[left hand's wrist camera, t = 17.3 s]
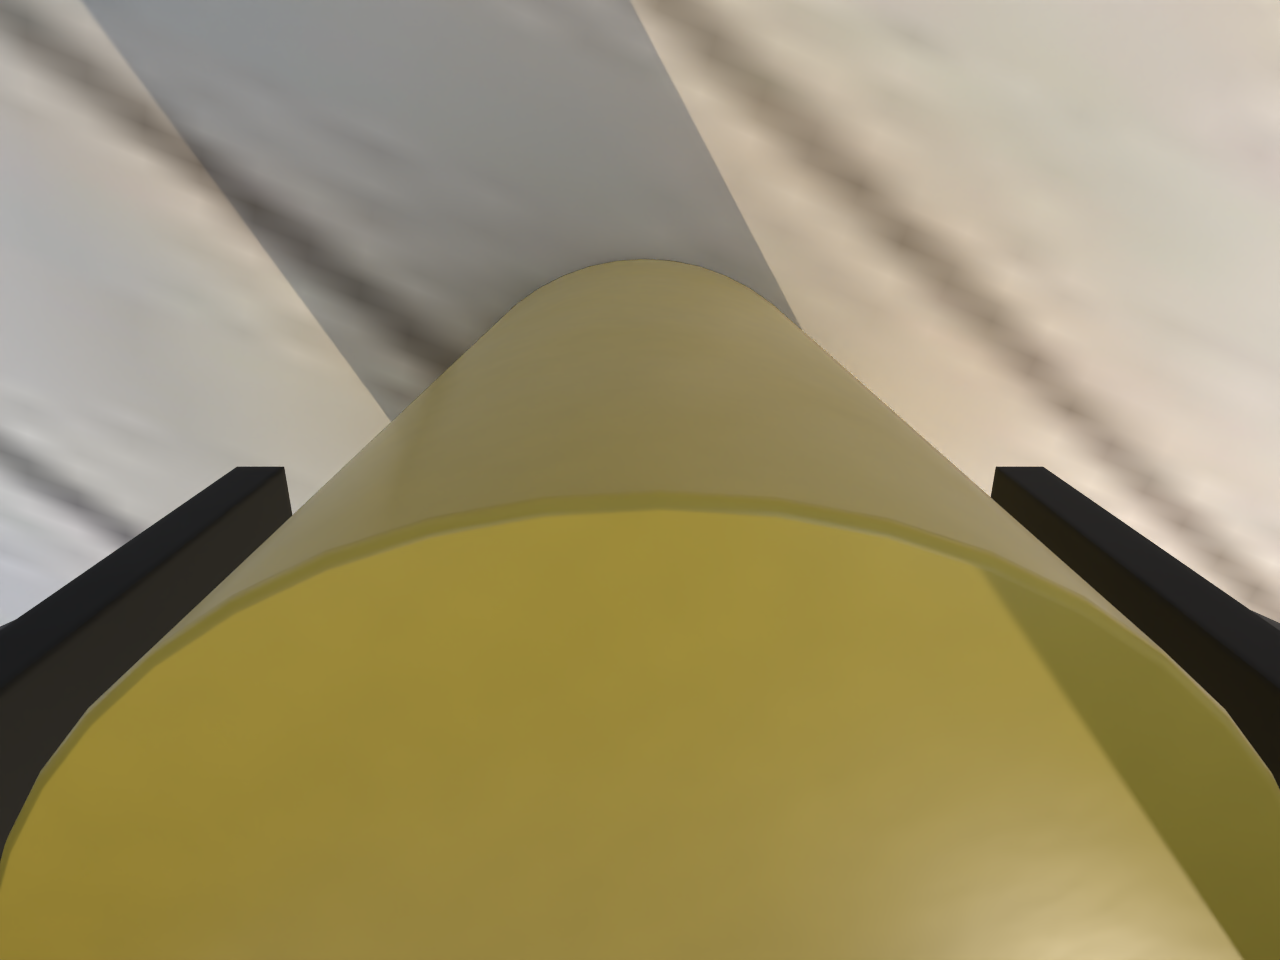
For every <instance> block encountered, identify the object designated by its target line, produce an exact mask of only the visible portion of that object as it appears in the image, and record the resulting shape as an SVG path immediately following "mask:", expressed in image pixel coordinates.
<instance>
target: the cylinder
mask: <svg viewBox="0 0 1280 960" xmlns="http://www.w3.org/2000/svg"><path fill="white" fill-rule="evenodd" d="M0 960H1280V789H1279V787H1278V785H1277V783H1276V781H1275V779H1274V777H1273V774H1272V773H1271V771H1270V770H1269V769H1268V767H1267V766H1266V764H1265V763H1264V762H1263V760H1262V759H1261V758H1260V756H1259V755H1258V754H1257V752H1256V751H1255V749H1254V748H1253V747H1252V745H1251V744H1250V743H1249V741H1248V740H1247V739H1246V737H1245V736H1244V734H1243V733H1242V732H1241V730H1240V729H1239V728H1238V726H1237V725H1236V723H1235V722H1234V721H1233V719H1232V718H1231V717H1230V715H1229V714H1228V713H1227V711H1226V710H1225V709H1224V708H1223V707H1222V706H1221V705H1220V704H1219V703H1218V702H1217V701H1216V700H1215V699H1214V698H1213V697H1212V696H1211V695H1210V694H1208V693H1207V692H1206V691H1205V690H1204V689H1203V688H1202V687H1201V686H1200V685H1199V684H1198V683H1197V682H1196V681H1195V680H1194V679H1193V678H1192V677H1191V676H1190V675H1189V674H1188V673H1186V672H1185V671H1184V670H1183V669H1182V668H1181V667H1180V666H1179V665H1178V664H1177V663H1176V662H1175V661H1174V660H1173V659H1172V658H1171V657H1170V656H1169V655H1168V654H1167V653H1166V652H1164V651H1163V650H1162V649H1161V648H1160V647H1159V646H1158V645H1157V644H1156V643H1154V642H1153V641H1152V640H1151V639H1150V638H1149V637H1148V636H1147V635H1145V634H1144V633H1143V632H1142V631H1141V630H1140V629H1139V628H1137V627H1136V626H1135V625H1134V624H1133V623H1132V622H1131V621H1130V620H1128V619H1127V618H1126V617H1125V616H1124V615H1123V614H1122V613H1121V612H1119V611H1118V610H1117V609H1116V608H1115V607H1114V606H1113V605H1112V604H1110V603H1109V602H1108V601H1107V600H1106V599H1105V598H1104V597H1102V596H1101V595H1100V594H1099V593H1098V592H1097V591H1096V590H1095V589H1093V588H1092V587H1091V586H1090V585H1089V584H1088V583H1087V582H1086V581H1084V580H1083V579H1082V578H1081V577H1080V576H1079V575H1078V574H1077V573H1075V572H1074V571H1073V570H1072V569H1071V568H1070V567H1069V566H1067V565H1066V564H1065V563H1064V562H1063V561H1062V560H1061V559H1060V558H1058V557H1057V556H1056V555H1055V554H1054V553H1053V552H1052V551H1051V550H1049V549H1048V548H1047V547H1046V546H1045V545H1044V544H1043V543H1041V542H1040V541H1039V540H1038V539H1037V538H1036V537H1035V536H1034V535H1032V534H1031V533H1030V532H1029V531H1028V530H1027V529H1026V528H1025V527H1023V526H1022V525H1021V524H1020V523H1019V522H1018V521H1017V520H1016V519H1014V518H1013V517H1012V516H1011V515H1010V514H1009V513H1008V512H1006V511H1005V510H1004V509H1003V508H1002V507H1001V506H1000V505H999V504H997V503H996V502H995V501H994V500H993V499H992V498H991V497H990V496H988V495H987V494H986V493H985V492H984V491H983V490H982V489H980V488H979V487H978V486H977V485H976V484H975V483H974V482H973V481H971V480H970V479H969V478H968V477H967V476H966V475H965V474H964V473H962V472H961V471H960V470H959V469H958V468H957V467H956V466H955V465H953V464H952V463H951V462H950V461H949V460H948V459H947V458H945V457H944V456H943V455H942V454H941V453H940V452H939V451H938V450H936V449H935V448H934V447H933V446H932V445H931V444H930V443H929V442H927V441H926V440H925V439H924V438H923V437H922V436H921V435H919V434H918V433H917V432H916V431H915V430H914V429H913V428H912V427H910V426H909V425H908V424H907V423H906V422H905V421H904V420H903V419H901V418H900V417H899V416H898V415H897V414H896V413H895V412H894V411H892V410H891V409H890V408H889V407H888V406H887V405H886V404H884V403H883V402H882V401H881V400H880V399H879V398H878V397H877V396H875V395H874V394H873V393H872V392H871V391H870V390H869V389H868V388H866V387H865V386H864V385H863V384H862V383H861V382H860V381H858V380H857V379H856V378H855V377H854V376H853V375H852V374H851V373H849V372H848V371H847V370H846V369H845V368H844V367H843V366H842V365H840V364H839V363H838V362H837V361H836V360H835V359H834V358H833V357H831V356H830V355H829V354H828V353H827V352H826V351H825V350H823V349H822V348H821V347H820V346H819V345H818V344H817V343H816V342H814V341H813V340H812V339H811V338H810V337H809V336H808V335H807V334H805V333H804V332H803V331H802V330H801V329H800V328H799V327H797V326H796V325H795V324H794V323H793V322H792V321H791V320H790V319H788V318H787V317H786V316H785V315H784V314H783V313H782V312H781V311H779V310H778V309H777V308H776V307H775V306H774V305H773V304H771V303H770V302H769V301H767V300H766V299H764V298H763V297H761V296H760V295H759V294H757V293H756V292H754V291H753V290H752V289H750V288H748V287H746V286H744V285H743V284H741V283H739V282H737V281H735V280H733V279H731V278H729V277H727V276H725V275H722V274H719V273H716V272H714V271H711V270H708V269H705V268H702V267H699V266H695V265H690V264H685V263H680V262H675V261H666V260H652V259H637V260H622V261H614V262H609V263H604V264H599V265H594V266H589V267H587V268H584V269H581V270H578V271H575V272H572V273H569V274H567V275H564V276H562V277H560V278H558V279H556V280H554V281H552V282H550V283H548V284H546V285H544V286H542V287H540V288H539V289H537V290H536V291H534V292H533V293H531V294H530V295H529V296H527V297H526V298H524V299H523V300H522V301H520V302H519V303H517V304H516V305H515V306H514V307H513V308H512V309H511V310H510V311H509V312H508V313H506V314H505V315H504V316H503V317H502V318H501V319H500V320H499V321H498V322H497V323H496V324H495V325H494V326H493V327H492V328H490V329H489V330H488V331H487V332H486V333H485V334H484V335H483V336H482V337H481V338H480V339H479V340H478V341H477V342H476V343H475V344H474V345H472V346H471V347H470V348H469V349H468V350H467V351H466V352H465V353H464V354H463V355H462V356H461V357H460V358H459V359H458V360H457V361H456V362H454V363H453V364H452V365H451V366H450V367H449V368H448V369H447V370H446V371H445V372H444V373H443V374H442V375H441V376H440V377H439V378H437V379H436V380H435V381H434V382H433V383H432V384H431V385H430V386H429V387H428V388H427V389H426V390H425V391H424V392H423V393H422V394H421V395H419V396H418V397H417V398H416V399H415V400H414V401H413V402H412V403H411V404H410V405H409V406H408V407H407V408H406V409H405V410H404V411H403V412H401V413H400V414H399V415H398V416H397V417H396V418H395V419H394V420H393V421H392V422H391V423H390V424H389V425H388V426H387V427H386V428H384V429H383V430H382V431H381V432H380V433H379V434H378V435H377V436H376V437H375V438H374V439H373V440H372V441H371V442H370V443H369V444H368V445H366V446H365V447H364V448H363V449H362V450H361V451H360V452H359V453H358V454H357V455H356V456H355V457H354V458H353V459H352V460H351V461H350V462H348V463H347V464H346V465H345V466H344V467H343V468H342V469H341V470H340V471H339V472H338V473H337V474H336V475H335V476H334V477H333V478H332V479H330V480H329V481H328V482H327V483H326V484H325V485H324V486H323V487H322V488H321V489H320V490H319V491H318V492H317V493H316V494H315V495H313V496H312V497H311V498H310V499H309V500H308V501H307V502H306V503H305V504H304V505H303V506H302V507H301V508H300V509H299V510H298V511H297V512H295V513H294V514H293V515H292V516H291V517H290V518H289V519H288V520H287V521H286V522H285V523H284V524H283V525H282V526H281V527H280V528H279V529H277V530H276V531H275V532H274V533H273V534H272V535H271V536H270V537H269V538H268V539H267V540H266V541H265V542H264V543H263V544H262V545H260V546H259V547H258V548H257V549H256V550H255V551H254V552H253V553H252V554H251V555H250V556H249V557H248V558H247V559H246V560H245V561H244V562H242V563H241V564H240V565H239V566H238V567H237V568H236V569H235V570H234V571H233V572H232V573H231V574H230V575H229V576H228V577H227V578H226V579H224V580H223V581H222V582H221V583H220V584H219V585H218V586H217V587H216V588H215V589H214V590H213V591H212V592H211V593H210V594H209V595H208V596H206V597H205V598H204V599H203V600H202V601H201V602H200V603H199V604H198V605H197V606H196V607H195V608H194V609H193V610H192V611H191V612H189V613H188V614H187V615H186V616H185V617H184V618H183V619H182V620H181V621H180V622H179V623H178V624H177V625H176V626H175V627H174V628H173V629H171V630H170V631H169V632H168V633H167V634H166V635H165V636H164V637H163V638H162V639H161V640H160V641H159V642H158V643H157V644H156V645H155V646H153V647H152V648H151V649H150V650H149V651H148V652H147V653H146V654H145V655H144V656H143V657H142V658H141V659H140V660H139V661H138V662H137V663H135V664H134V665H133V666H132V667H131V668H130V669H129V670H128V671H127V672H126V673H125V674H124V675H123V676H122V677H121V678H120V679H118V680H117V681H116V682H115V683H114V684H113V685H112V686H111V687H110V688H109V689H108V690H107V691H106V692H105V693H104V694H103V695H102V696H100V697H99V698H98V699H97V700H96V701H95V702H94V703H93V704H92V705H91V706H90V707H89V708H88V709H87V710H86V712H85V713H84V714H83V716H82V717H81V718H80V720H79V721H78V722H77V724H76V725H75V726H74V728H73V729H72V730H71V732H70V733H69V734H68V736H67V737H66V738H65V739H64V741H63V742H62V743H61V745H60V746H59V747H58V749H57V750H56V751H55V753H54V754H53V755H52V757H51V758H50V759H49V761H48V762H47V763H46V765H45V766H44V767H43V769H42V770H41V771H40V773H39V775H38V777H37V779H36V781H35V783H34V785H33V787H32V789H31V791H30V793H29V795H28V797H27V799H26V801H25V803H24V805H23V807H22V809H21V811H20V813H19V815H18V817H17V819H16V821H15V823H14V825H13V827H12V829H11V831H10V833H9V835H8V838H7V841H6V843H5V846H4V850H3V853H2V857H1V861H0Z"/></svg>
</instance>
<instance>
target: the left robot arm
mask: <svg viewBox="0 0 1280 960" xmlns="http://www.w3.org/2000/svg"><path fill="white" fill-rule="evenodd" d="M991 498H992V499H993V500H994V501H995V502H996V503H997V504H999V505H1000V506H1001V507H1002V508H1003V509H1004V510H1005V511H1006V512H1008V513H1009V514H1010V515H1011V516H1012V517H1013V518H1014V519H1016V520H1017V521H1018V522H1019V523H1020V524H1021V525H1022V526H1023V527H1025V528H1026V529H1027V530H1028V531H1029V532H1030V533H1031V534H1032V535H1034V536H1035V537H1036V538H1037V539H1038V540H1039V541H1040V542H1041V543H1043V544H1044V545H1045V546H1046V547H1047V548H1048V549H1049V550H1051V551H1052V552H1053V553H1054V554H1055V555H1056V556H1057V557H1058V558H1060V559H1061V560H1062V561H1063V562H1064V563H1065V564H1066V565H1067V566H1069V567H1070V568H1071V569H1072V570H1073V571H1074V572H1075V573H1077V574H1078V575H1079V576H1080V577H1081V578H1082V579H1083V580H1084V581H1086V582H1087V583H1088V584H1089V585H1090V586H1091V587H1092V588H1093V589H1095V590H1096V591H1097V592H1098V593H1099V594H1100V595H1101V596H1102V597H1104V598H1105V599H1106V600H1107V601H1108V602H1109V603H1110V604H1112V605H1113V606H1114V607H1115V608H1116V609H1117V610H1118V611H1119V612H1121V613H1122V614H1123V615H1124V616H1125V617H1126V618H1127V619H1128V620H1130V621H1131V622H1132V623H1133V624H1134V625H1135V626H1136V627H1137V628H1139V629H1140V630H1141V631H1142V632H1143V633H1144V634H1145V635H1147V636H1148V637H1149V638H1150V639H1151V640H1152V641H1153V642H1154V643H1156V644H1157V645H1158V646H1159V647H1160V648H1161V649H1162V650H1163V651H1164V652H1166V653H1167V654H1168V655H1169V656H1170V657H1171V658H1172V659H1173V660H1174V661H1175V662H1176V663H1177V664H1178V665H1179V666H1180V667H1181V668H1182V669H1183V670H1184V671H1185V672H1186V673H1188V674H1189V675H1190V676H1191V677H1192V678H1193V679H1194V680H1195V681H1196V682H1197V683H1198V684H1199V685H1200V686H1201V687H1202V688H1203V689H1204V690H1205V691H1206V692H1207V693H1208V694H1210V695H1211V696H1212V697H1213V698H1214V699H1215V700H1216V701H1217V702H1218V703H1219V704H1220V705H1221V706H1222V707H1223V708H1224V709H1225V710H1226V711H1227V713H1228V714H1229V715H1230V717H1231V718H1232V719H1233V721H1234V722H1235V723H1236V725H1237V726H1238V728H1239V729H1240V730H1241V732H1242V733H1243V734H1244V736H1245V737H1246V739H1247V740H1248V741H1249V743H1250V744H1251V745H1252V747H1253V748H1254V749H1255V751H1256V752H1257V754H1258V755H1259V756H1260V758H1261V759H1262V760H1263V762H1264V763H1265V764H1266V766H1267V767H1268V769H1269V770H1270V771H1271V773H1272V774H1273V777H1274V779H1275V781H1276V783H1277V785H1278V787H1279V789H1280V623H1278V622H1276V621H1274V620H1271V619H1269V618H1267V617H1265V616H1262V615H1260V614H1258V613H1256V612H1253V611H1251V610H1249V609H1248V608H1247V607H1245V606H1244V605H1242V604H1241V603H1239V602H1238V601H1236V600H1235V599H1234V598H1232V597H1231V596H1229V595H1228V594H1226V593H1225V592H1223V591H1222V590H1220V589H1219V588H1218V587H1216V586H1215V585H1213V584H1212V583H1210V582H1209V581H1207V580H1206V579H1205V578H1203V577H1202V576H1200V575H1199V574H1197V573H1196V572H1194V571H1193V570H1192V569H1190V568H1189V567H1187V566H1186V565H1184V564H1183V563H1181V562H1180V561H1179V560H1177V559H1176V558H1174V557H1173V556H1171V555H1170V554H1168V553H1167V552H1166V551H1164V550H1163V549H1161V548H1160V547H1158V546H1157V545H1155V544H1154V543H1153V542H1151V541H1150V540H1148V539H1147V538H1145V537H1144V536H1142V535H1141V534H1139V533H1138V532H1137V531H1135V530H1134V529H1132V528H1131V527H1129V526H1128V525H1126V524H1125V523H1124V522H1122V521H1121V520H1119V519H1118V518H1116V517H1115V516H1113V515H1112V514H1111V513H1109V512H1108V511H1106V510H1105V509H1103V508H1102V507H1100V506H1099V505H1098V504H1096V503H1095V502H1093V501H1092V500H1090V499H1089V498H1087V497H1086V496H1085V495H1083V494H1082V493H1080V492H1079V491H1077V490H1076V489H1074V488H1073V487H1072V486H1070V485H1069V484H1067V483H1066V482H1064V481H1063V480H1061V479H1060V478H1059V477H1057V476H1056V475H1054V474H1053V473H1051V472H1050V471H1048V470H1047V469H1045V468H1044V467H996V469H995V475H994V481H993V487H992V493H991ZM291 516H292V511H291V505H290V499H289V493H288V487H287V481H286V475H285V469H284V467H236V468H235V469H233V470H232V471H230V472H229V473H227V474H226V475H224V476H223V477H222V478H220V479H219V480H217V481H216V482H214V483H213V484H211V485H210V486H208V487H207V488H206V489H204V490H203V491H201V492H200V493H198V494H197V495H195V496H194V497H193V498H191V499H190V500H188V501H187V502H185V503H184V504H182V505H181V506H180V507H178V508H177V509H175V510H174V511H172V512H171V513H169V514H168V515H167V516H165V517H164V518H162V519H161V520H159V521H158V522H156V523H155V524H154V525H152V526H151V527H149V528H148V529H146V530H145V531H143V532H142V533H141V534H139V535H138V536H136V537H135V538H133V539H132V540H130V541H129V542H128V543H126V544H125V545H123V546H122V547H120V548H119V549H117V550H116V551H114V552H113V553H112V554H110V555H109V556H107V557H106V558H104V559H103V560H101V561H100V562H99V563H97V564H96V565H94V566H93V567H91V568H90V569H88V570H87V571H86V572H84V573H83V574H81V575H80V576H78V577H77V578H75V579H74V580H73V581H71V582H70V583H68V584H67V585H65V586H64V587H62V588H61V589H60V590H58V591H57V592H55V593H54V594H52V595H51V596H49V597H48V598H47V599H45V600H44V601H42V602H41V603H39V604H38V605H36V606H35V607H33V608H32V609H31V610H29V611H28V612H26V613H25V614H23V615H22V616H20V617H19V618H18V619H16V620H14V621H12V622H9V623H7V624H5V625H3V626H1V627H0V861H1V857H2V853H3V850H4V846H5V843H6V841H7V838H8V835H9V833H10V831H11V829H12V827H13V825H14V823H15V821H16V819H17V817H18V815H19V813H20V811H21V809H22V807H23V805H24V803H25V801H26V799H27V797H28V795H29V793H30V791H31V789H32V787H33V785H34V783H35V781H36V779H37V777H38V775H39V773H40V771H41V770H42V769H43V767H44V766H45V765H46V763H47V762H48V761H49V759H50V758H51V757H52V755H53V754H54V753H55V751H56V750H57V749H58V747H59V746H60V745H61V743H62V742H63V741H64V739H65V738H66V737H67V736H68V734H69V733H70V732H71V730H72V729H73V728H74V726H75V725H76V724H77V722H78V721H79V720H80V718H81V717H82V716H83V714H84V713H85V712H86V710H87V709H88V708H89V707H90V706H91V705H92V704H93V703H94V702H95V701H96V700H97V699H98V698H99V697H100V696H102V695H103V694H104V693H105V692H106V691H107V690H108V689H109V688H110V687H111V686H112V685H113V684H114V683H115V682H116V681H117V680H118V679H120V678H121V677H122V676H123V675H124V674H125V673H126V672H127V671H128V670H129V669H130V668H131V667H132V666H133V665H134V664H135V663H137V662H138V661H139V660H140V659H141V658H142V657H143V656H144V655H145V654H146V653H147V652H148V651H149V650H150V649H151V648H152V647H153V646H155V645H156V644H157V643H158V642H159V641H160V640H161V639H162V638H163V637H164V636H165V635H166V634H167V633H168V632H169V631H170V630H171V629H173V628H174V627H175V626H176V625H177V624H178V623H179V622H180V621H181V620H182V619H183V618H184V617H185V616H186V615H187V614H188V613H189V612H191V611H192V610H193V609H194V608H195V607H196V606H197V605H198V604H199V603H200V602H201V601H202V600H203V599H204V598H205V597H206V596H208V595H209V594H210V593H211V592H212V591H213V590H214V589H215V588H216V587H217V586H218V585H219V584H220V583H221V582H222V581H223V580H224V579H226V578H227V577H228V576H229V575H230V574H231V573H232V572H233V571H234V570H235V569H236V568H237V567H238V566H239V565H240V564H241V563H242V562H244V561H245V560H246V559H247V558H248V557H249V556H250V555H251V554H252V553H253V552H254V551H255V550H256V549H257V548H258V547H259V546H260V545H262V544H263V543H264V542H265V541H266V540H267V539H268V538H269V537H270V536H271V535H272V534H273V533H274V532H275V531H276V530H277V529H279V528H280V527H281V526H282V525H283V524H284V523H285V522H286V521H287V520H288V519H289V518H290V517H291Z"/></svg>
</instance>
